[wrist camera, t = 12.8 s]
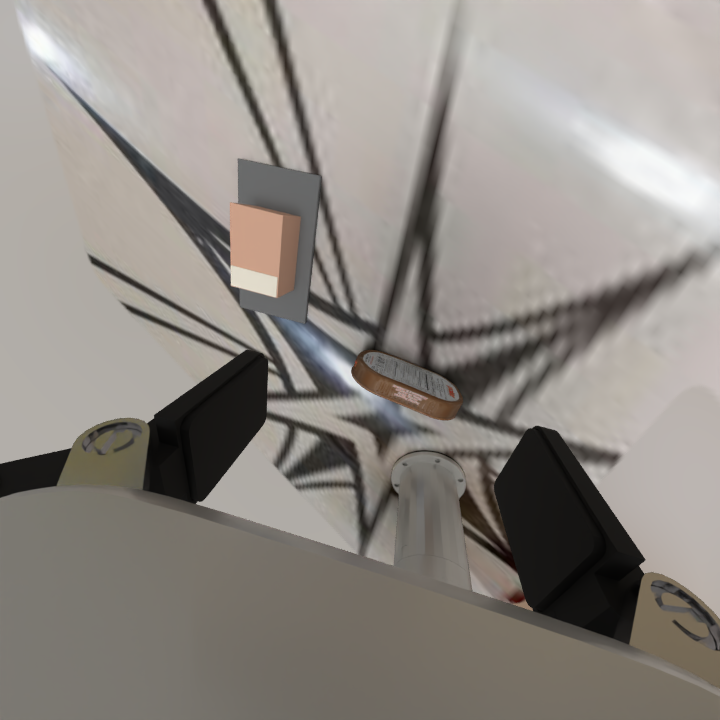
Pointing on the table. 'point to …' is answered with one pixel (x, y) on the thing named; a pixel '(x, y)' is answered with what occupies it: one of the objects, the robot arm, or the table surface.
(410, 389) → the tin
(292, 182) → the mat
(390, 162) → the table surface
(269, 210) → the block
